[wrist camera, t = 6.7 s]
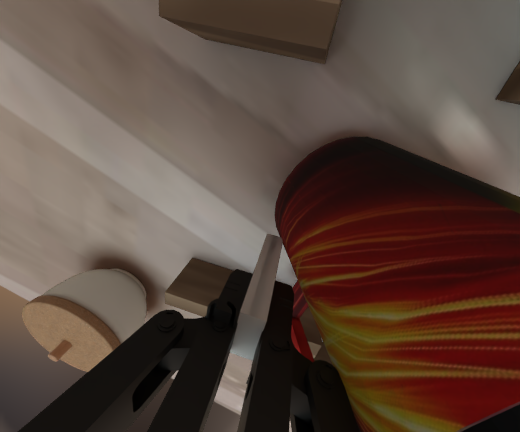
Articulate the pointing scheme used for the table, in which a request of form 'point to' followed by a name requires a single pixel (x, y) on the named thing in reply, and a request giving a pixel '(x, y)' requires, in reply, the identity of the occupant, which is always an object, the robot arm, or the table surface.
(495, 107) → the table surface
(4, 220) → the table surface
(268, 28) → the trap lane
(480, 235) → the mug
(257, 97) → the table surface
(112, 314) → the lidded jar
